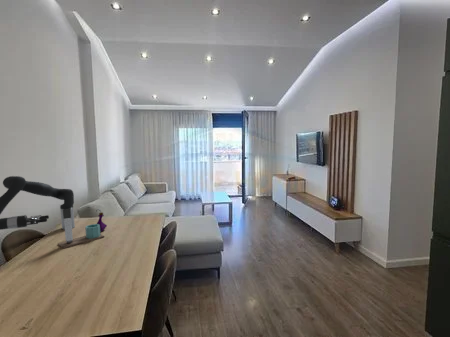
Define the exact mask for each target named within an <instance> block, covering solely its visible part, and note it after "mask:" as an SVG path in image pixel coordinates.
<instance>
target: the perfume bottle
mask: <svg viewBox="0 0 450 337" xmlns="http://www.w3.org/2000/svg"><path fill="white" fill-rule="evenodd" d="M95 211H96V212H98V211H99V213H98V217H99V218H98V221H97V222H96V224H99V225H100V233H102V232H103V231H105V229H106V228H107V226H108V225H107V224H106V223H105V222H103V221H102V220H103V219H102V218H103V216H104V212H102V209H100V208H98V209H96V210H95Z"/></svg>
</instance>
